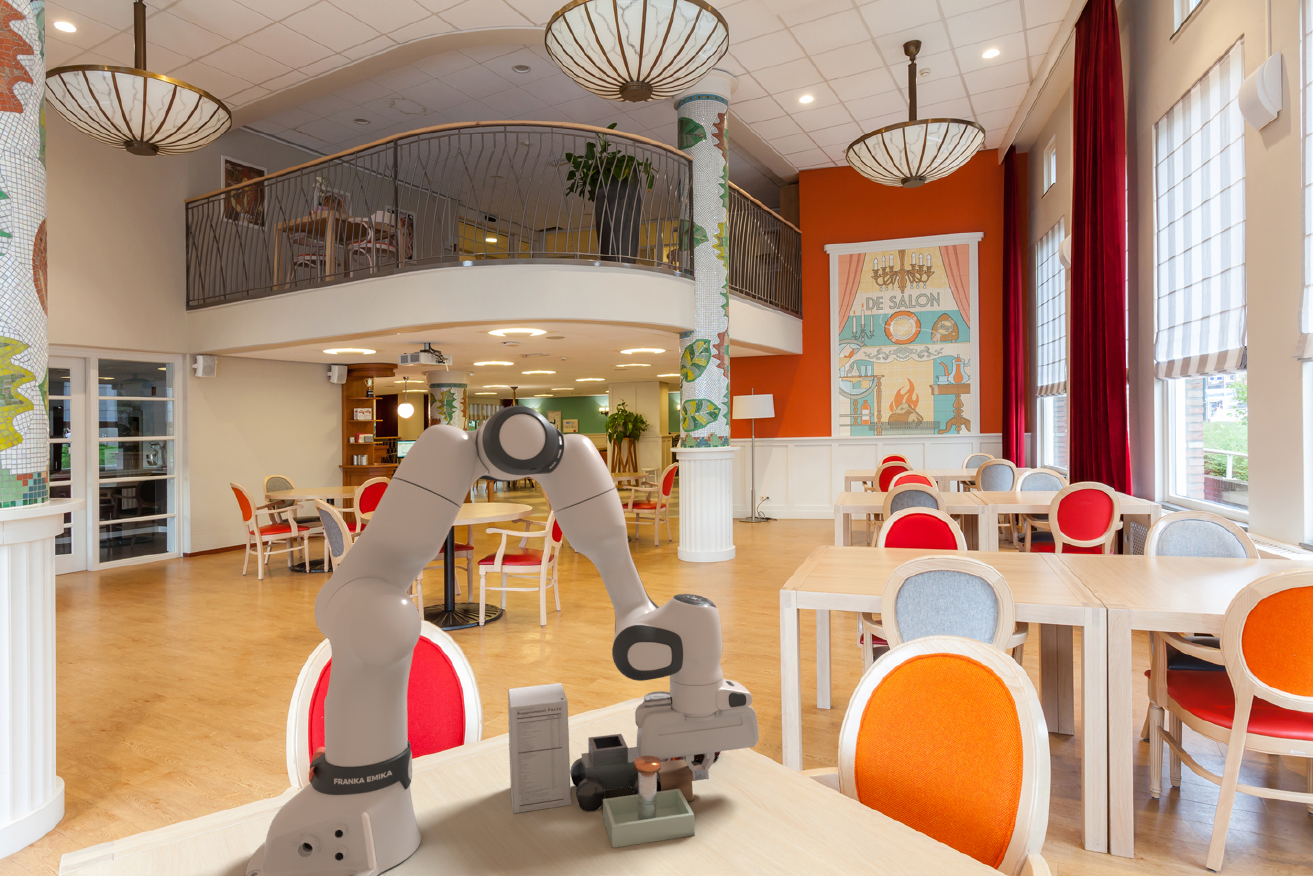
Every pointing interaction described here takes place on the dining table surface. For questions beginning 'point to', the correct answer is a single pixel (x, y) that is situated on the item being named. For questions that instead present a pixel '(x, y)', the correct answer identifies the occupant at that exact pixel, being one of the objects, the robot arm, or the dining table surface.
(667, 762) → the chock
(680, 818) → the tray
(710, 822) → the dining table surface
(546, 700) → the supplement box
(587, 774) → the trolley
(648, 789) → the orange capped vial
